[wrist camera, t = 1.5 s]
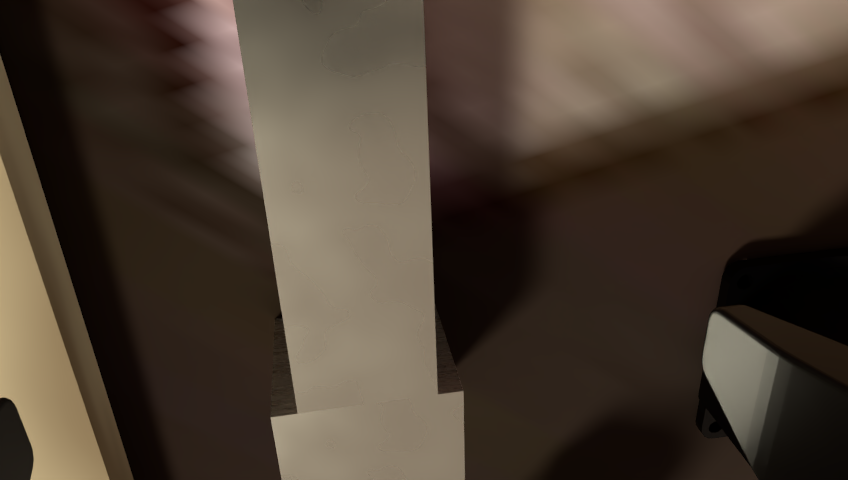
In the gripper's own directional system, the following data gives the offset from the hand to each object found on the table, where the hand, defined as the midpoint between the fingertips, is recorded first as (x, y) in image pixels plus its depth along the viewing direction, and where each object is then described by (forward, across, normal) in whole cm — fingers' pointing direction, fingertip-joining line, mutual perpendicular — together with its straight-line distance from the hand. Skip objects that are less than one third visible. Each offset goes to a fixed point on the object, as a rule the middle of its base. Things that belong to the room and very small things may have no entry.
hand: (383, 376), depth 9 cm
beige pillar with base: (+9, 0, 0) cm, 9 cm away
